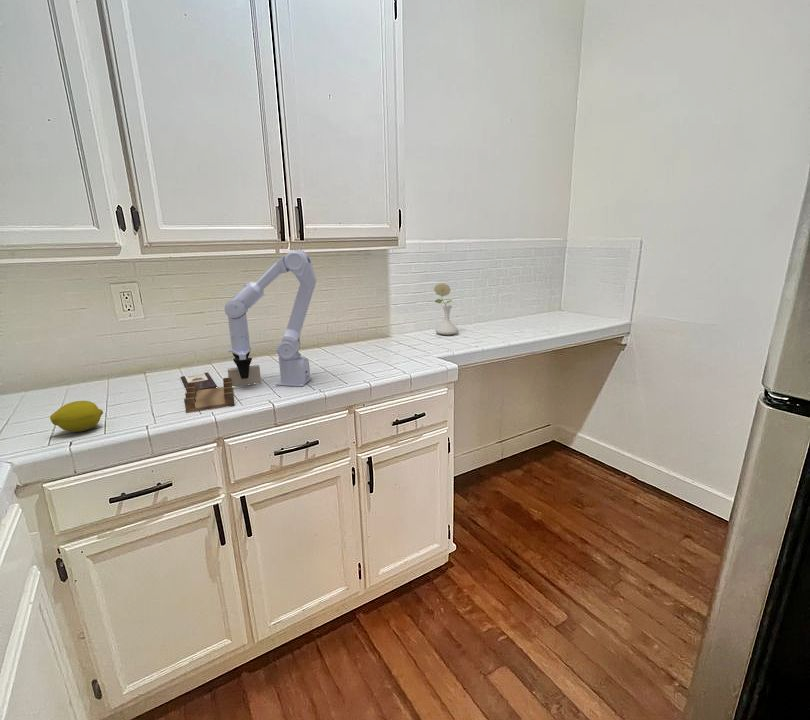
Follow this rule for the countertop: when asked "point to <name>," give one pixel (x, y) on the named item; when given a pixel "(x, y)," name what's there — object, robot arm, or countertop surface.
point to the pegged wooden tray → (209, 397)
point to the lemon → (77, 416)
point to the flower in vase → (445, 311)
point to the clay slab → (252, 378)
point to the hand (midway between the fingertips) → (244, 375)
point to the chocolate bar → (199, 381)
